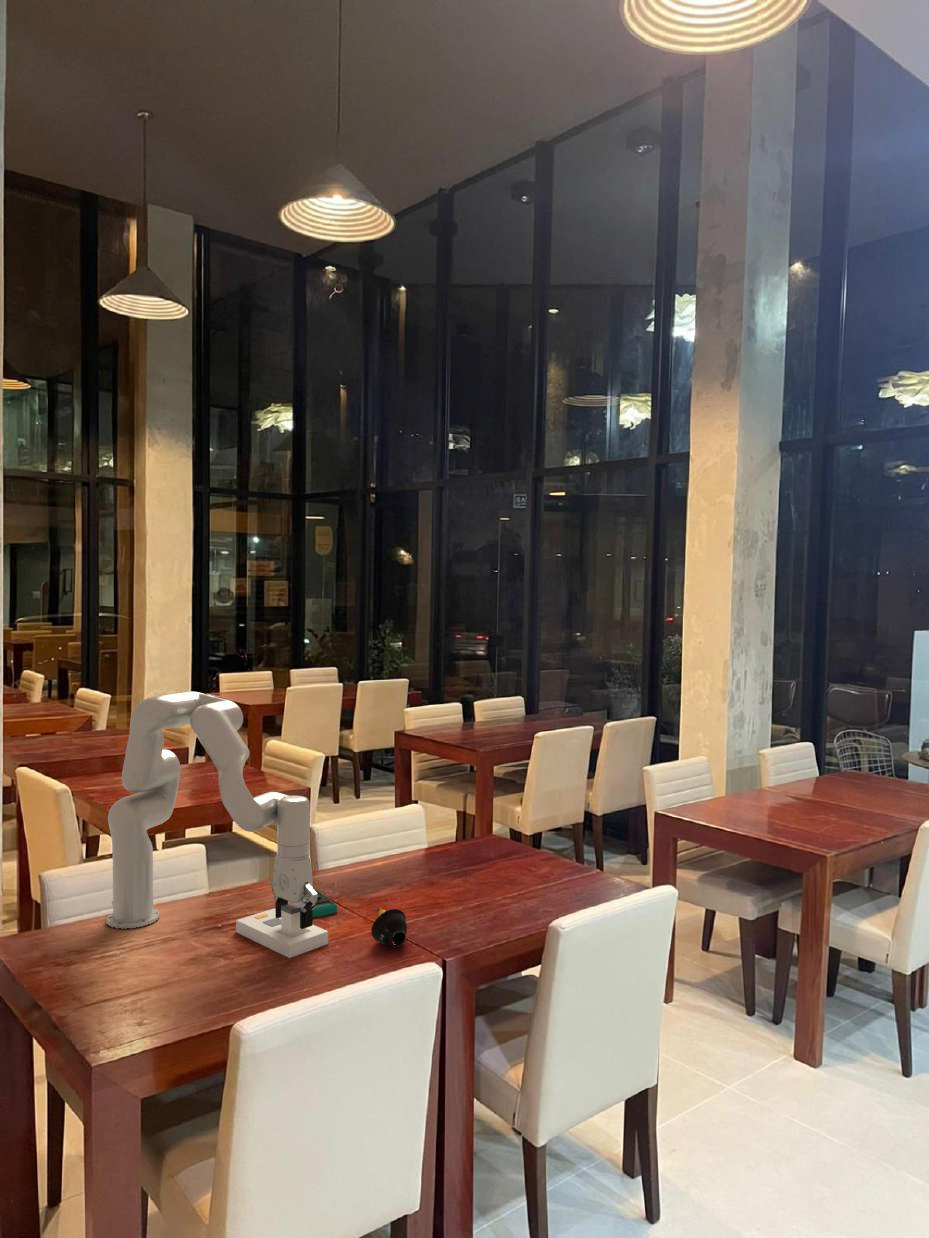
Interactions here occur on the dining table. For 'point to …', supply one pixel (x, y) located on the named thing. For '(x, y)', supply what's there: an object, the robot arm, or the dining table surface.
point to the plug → (291, 920)
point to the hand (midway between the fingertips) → (293, 921)
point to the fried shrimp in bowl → (390, 927)
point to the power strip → (268, 934)
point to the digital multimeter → (323, 906)
